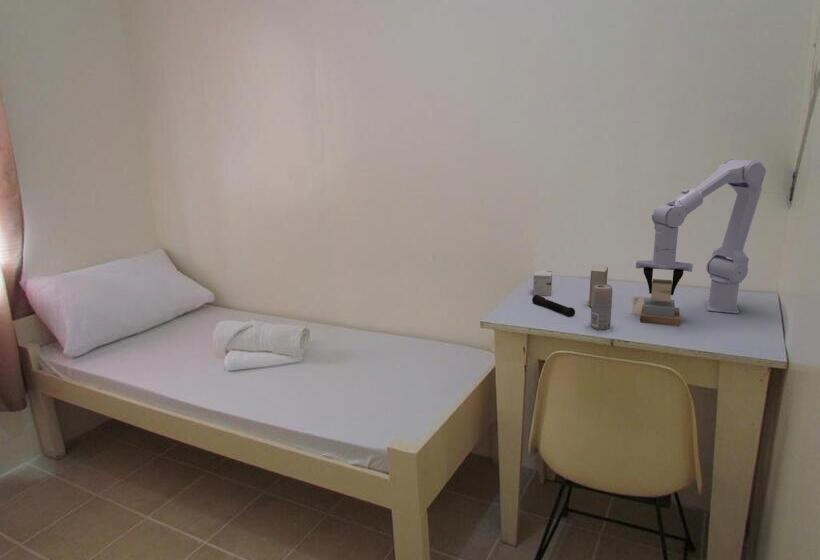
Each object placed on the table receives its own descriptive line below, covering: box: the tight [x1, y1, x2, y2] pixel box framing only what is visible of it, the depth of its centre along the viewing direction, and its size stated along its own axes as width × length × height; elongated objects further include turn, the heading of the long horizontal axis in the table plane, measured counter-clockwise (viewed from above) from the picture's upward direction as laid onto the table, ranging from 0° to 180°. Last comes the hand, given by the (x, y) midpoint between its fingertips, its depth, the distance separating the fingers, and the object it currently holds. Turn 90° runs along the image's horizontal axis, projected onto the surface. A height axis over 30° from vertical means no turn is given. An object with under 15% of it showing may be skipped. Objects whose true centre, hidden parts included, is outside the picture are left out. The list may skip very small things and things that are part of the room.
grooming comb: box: [629, 296, 650, 317], centre depth 163 cm, size 18×10×1 cm, turn 149°
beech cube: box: [650, 278, 673, 302], centre depth 151 cm, size 5×5×5 cm
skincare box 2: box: [588, 265, 609, 307], centre depth 165 cm, size 6×4×12 cm
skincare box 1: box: [532, 270, 553, 297], centre depth 180 cm, size 6×6×7 cm
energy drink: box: [590, 283, 613, 330], centre depth 147 cm, size 5×5×12 cm
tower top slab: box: [644, 297, 676, 317], centre depth 152 cm, size 8×8×2 cm
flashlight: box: [531, 295, 576, 318], centre depth 165 cm, size 3×16×3 cm, turn 27°
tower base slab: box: [639, 305, 680, 327], centre depth 153 cm, size 10×10×2 cm
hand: (661, 293), depth 151 cm, fingers closed on beech cube, 5 cm apart
